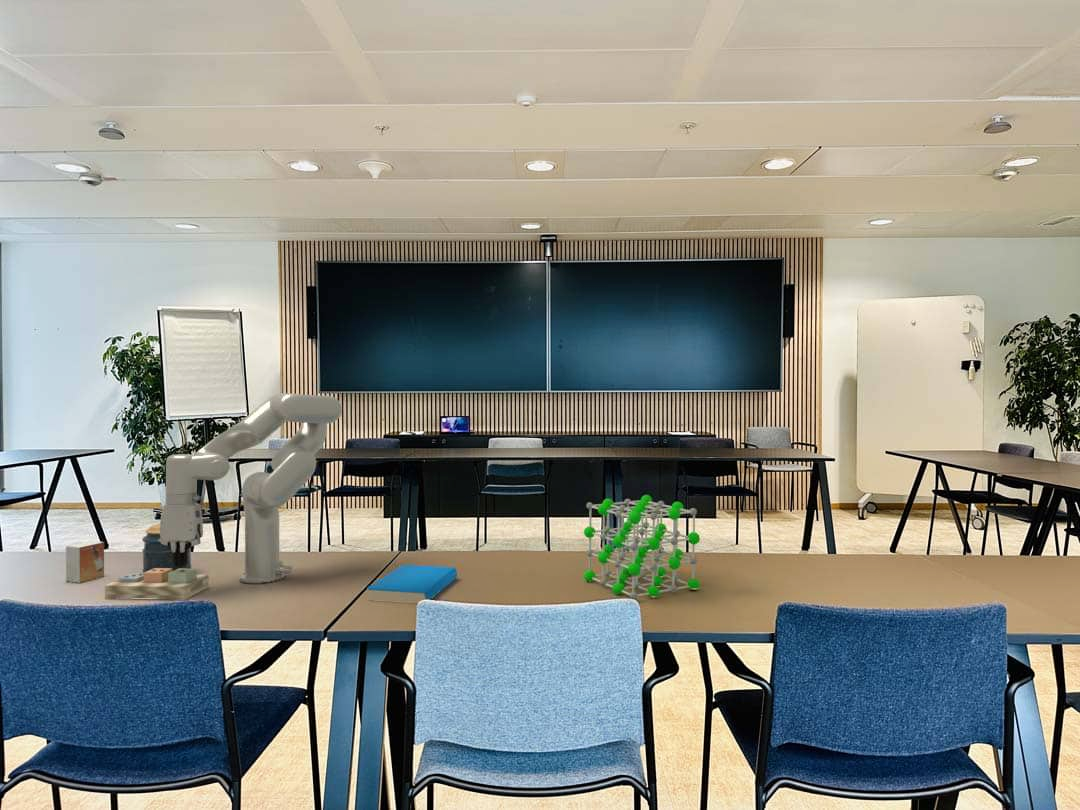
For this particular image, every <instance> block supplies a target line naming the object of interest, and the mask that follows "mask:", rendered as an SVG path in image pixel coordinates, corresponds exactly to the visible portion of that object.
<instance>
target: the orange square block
mask: <svg viewBox="0 0 1080 810" xmlns="http://www.w3.org/2000/svg"><path fill="white" fill-rule="evenodd" d="M170 572H172V568H154V569H152V570H149V571H147V572H144V583H163V582H165V581H167V580H168V573H170Z"/></svg>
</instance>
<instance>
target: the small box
mask: <svg viewBox="0 0 1080 810" xmlns="http://www.w3.org/2000/svg"><path fill="white" fill-rule="evenodd" d="M65 574H66V575H65V581H66V582H67V581H69V583H76V582H77V583H78V584H80V583H84V582H87V581H91V580H95V578H96V579H99V577H100V578H104V577H105V542H104V541H98V540H97V541H96V540H95V541H94V540H88V541H85V542H80V543H76V544H72V545H66V546H65ZM103 576H104V577H103Z"/></svg>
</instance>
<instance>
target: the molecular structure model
mask: <svg viewBox="0 0 1080 810" xmlns="http://www.w3.org/2000/svg"><path fill="white" fill-rule="evenodd" d="M630 505H634V506H630ZM585 507H586V508H587V509H588V510H589V519H588V520H589V524H588V525H589V526H586V527H585V528H584V530H583V535H584V536H585V538H588V549H587V550H586V553H585V555H586V556H587V557H588V570H586V571H585V572H584V574H583V579H584V580H585V581H586V582H587V581H592V582H594V581H596V582H598V583H599V585H600V586H602V587H605V586H606V587H610V588H611V589H612V592H613V594H614V595H616V594H621V595H623V594H625V595H627V596H629V598H630V599H631V598H634V599H635V600H636V599H637V598H640V597H644V596H648V595H649V596H658V597H659V596H660V594H661V593H666V592H672V591H676V592H677V590H681V589H689V588H699V589H700V581H699V580H698V579H697V578H695V565H696V564H697V562H698V560H697V557H695V547H696V546H695V545H697V544H698V543H700V539H701V538H700V534H698V532H695V531H696V515H697V513H698V510H697V508H696V507H695V508H694V507H692V508H690V509H685V508H684V504H683V503H682V502H680V501H675V502H673V503H672V505H667V504H665V502H664V501H663V500H659V501H657V502H654V501H653V498H652V497H651V496H650V495H649V494H645V495H642V497H641V498H640V500H631V499H630V498H626V499H624V501H619V502H614V501H613V500H612V499H611V498H605V499H604V500H603V501H602V503H598V504H593V502H587V503H586V506H585ZM592 509H594V510H597V512H598V514H599V515H601V516H602V529H598V530H596V529H595V527H593V526H592V511H593V510H592ZM610 514H614V516H615V517H616V518H617V527H615V528H614V527H611V526H610ZM685 514H690V515H691V516H692V531H691V532H690V533H689V534H687V535H685V534H681V532H680V530H678V527H679V525H678V523H679V518H681V517H680V516H681V515H685ZM606 516H607V517H606ZM666 516H667V517H668V518H669V519H670V520H672V521H673V523H672V524H673V525H672V527H673V528H672V529H673V530H672V531H670V530H667V526H666V525H665V524H664V523H663V517H666ZM624 518H626V521H625V522H624V520H625V519H624ZM606 519H607V520H606ZM648 519H650V520H652V525H650V523H649V522H648ZM655 521H656V522H655ZM640 522H641V523H640ZM639 523H640V525H639ZM655 524H656V525H655ZM599 533H600V534H599ZM610 533H613V534H610ZM666 533H667V534H666ZM639 535H640V536H639ZM595 536H596V537H599V538H600V540H601V541H602V549H601V550H597V551H593V550H592V538H594V537H595ZM612 537H613V538H612ZM669 537H671V538H669ZM679 537H682V538H679ZM605 540H606V541H605ZM664 540H665V541H664ZM610 541H611V542H612V545H613V546H614V547H613V546H612V545H611V544H610ZM684 541H685V542H686V541H688V543H689V544H691V545H692V546H691V547H692V548H691V549H692V552H691V553H692V555H691V557H686V556H684V553H683V551H682V550H681V549H679V548H678V542H684ZM605 542H606V544H605ZM630 543H631V544H630ZM639 543H640V544H639ZM663 544H671V545H672V552H670V551H668V550H665V548H664V547H663V546H662V545H663ZM614 551H615V552H616V551H617V553H614ZM624 551H625V553H626V554H625V553H624ZM631 551H632V553H629V552H631ZM655 553H656V554H655ZM663 553H665V554H668V555H664V556H662V554H663ZM593 556H594V557H596V558H597V559H598V562H599V563H600V564H601V565H602V566H601V568H602V569H601V570H602V571H601V574H595V572H594V571H593V570H592V557H593ZM630 557H632V558H630ZM647 557H649V558H647ZM668 558H669V559H668ZM614 559H617V560H614ZM682 559H684V560H683V561H681V560H682ZM625 560H626V561H625ZM648 561H651V563H650V564H649V565H648ZM662 562H666V563H662ZM609 563H612V564H614V567H616V571H614V572H611V570H609V565H610V564H609ZM688 563H690V564H691V578H690V579H689V580H688V581H687V582H686V581H684V580H681V579H680V576H679V575H678V569H679V568H680V567H681V564H688ZM605 564H606V570H605ZM665 567H669V568H670V569H672V573H671V575H672V576H671V575H668V574H667V573H668V571H667V569H666V568H665ZM644 570H645V572H647V571H648V572H651V573H650V574H645V573H644ZM615 575H616V576H615ZM627 575H630V576H632V577H629V576H627ZM660 576H665V577H666V578H668V579H666V580H664V578H661V577H660ZM600 577H601V579H598V578H600ZM605 577H607V578H610V577H611V578H613V579H615V580H610V581H607V579H605ZM650 577H651V578H650ZM641 579H642V580H646V581H648V583H642V584H641V583H640V582H639V581H638V580H641ZM675 581H678V582H677V583H681V584H684V585H683V586H677V585H676V584H675V583H676V582H675ZM670 582H672V583H671V585H667V584H664V583H670ZM626 583H627V584H626ZM611 584H613V585H611ZM623 584H625V585H630V586H626V587H625V585H623ZM647 586H649V587H647ZM656 586H662V587H664V588H666V589H661V590H660V588H658V587H656ZM645 587H647V588H645ZM629 589H631V590H632V591H631V592H628V591H626V590H629ZM639 589H640V590H643V591H645V592H644V593H639V594H638V593H637V592H636V591H635V590H639ZM622 593H623V594H622ZM649 596H648V597H649Z"/></svg>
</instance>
